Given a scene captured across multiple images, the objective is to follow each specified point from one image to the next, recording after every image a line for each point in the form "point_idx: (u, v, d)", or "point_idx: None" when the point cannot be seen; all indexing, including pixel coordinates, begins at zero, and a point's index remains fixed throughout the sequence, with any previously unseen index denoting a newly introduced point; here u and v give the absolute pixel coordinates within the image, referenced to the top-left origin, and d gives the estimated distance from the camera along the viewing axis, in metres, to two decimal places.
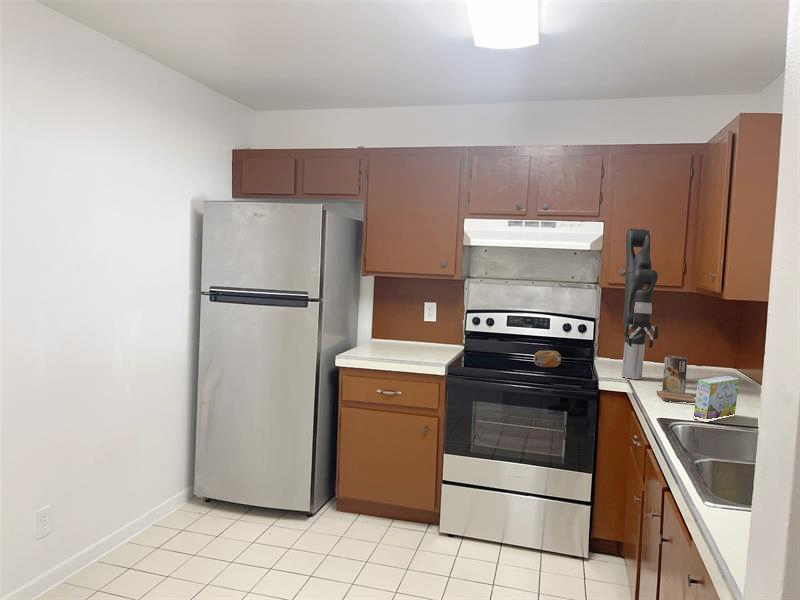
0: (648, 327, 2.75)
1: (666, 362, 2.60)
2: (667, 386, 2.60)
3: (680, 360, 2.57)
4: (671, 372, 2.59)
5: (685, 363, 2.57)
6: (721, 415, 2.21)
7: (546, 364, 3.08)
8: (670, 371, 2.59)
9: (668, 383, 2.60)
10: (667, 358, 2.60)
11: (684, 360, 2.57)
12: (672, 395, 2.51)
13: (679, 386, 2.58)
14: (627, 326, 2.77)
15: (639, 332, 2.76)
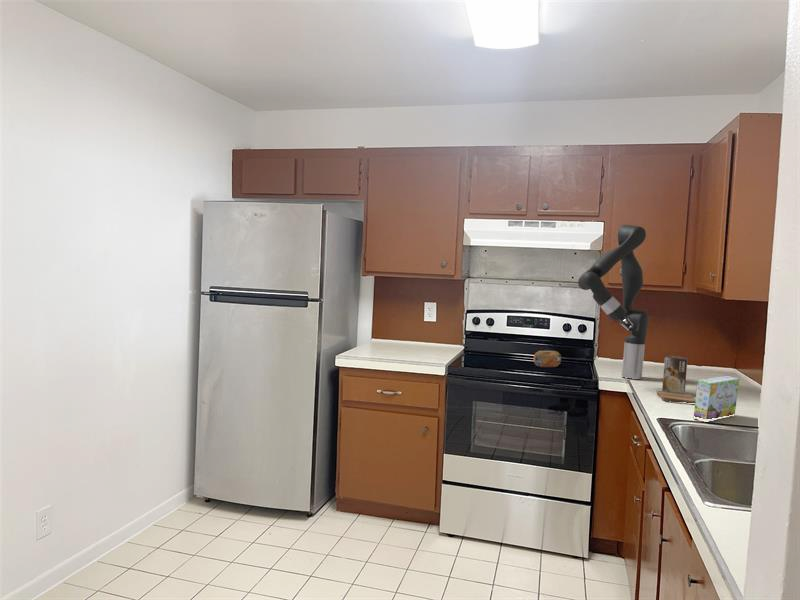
0: (622, 322, 2.64)
1: (666, 362, 2.60)
2: (667, 386, 2.60)
3: (680, 360, 2.57)
4: (671, 372, 2.59)
5: (685, 363, 2.57)
6: (721, 415, 2.21)
7: (546, 364, 3.08)
8: (670, 371, 2.59)
9: (668, 383, 2.60)
10: (667, 358, 2.60)
11: (684, 360, 2.57)
12: (672, 395, 2.51)
13: (679, 386, 2.58)
14: (619, 320, 2.73)
15: None
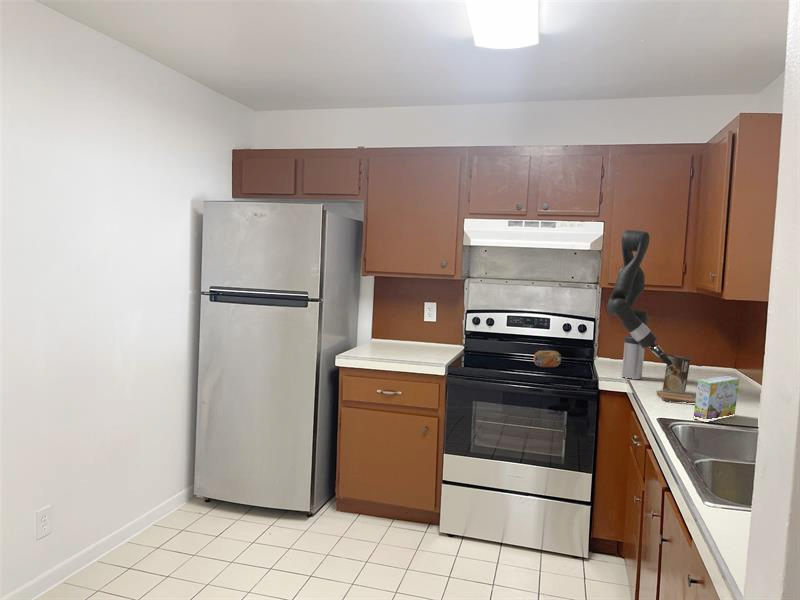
0: (652, 349, 2.60)
1: None
2: (667, 385, 2.60)
3: (683, 360, 2.57)
4: (673, 372, 2.59)
5: (688, 363, 2.56)
6: (721, 415, 2.21)
7: (546, 364, 3.08)
8: (672, 370, 2.59)
9: (669, 382, 2.60)
10: (670, 357, 2.59)
11: (687, 360, 2.56)
12: (672, 395, 2.51)
13: (680, 386, 2.58)
14: (648, 346, 2.69)
15: None
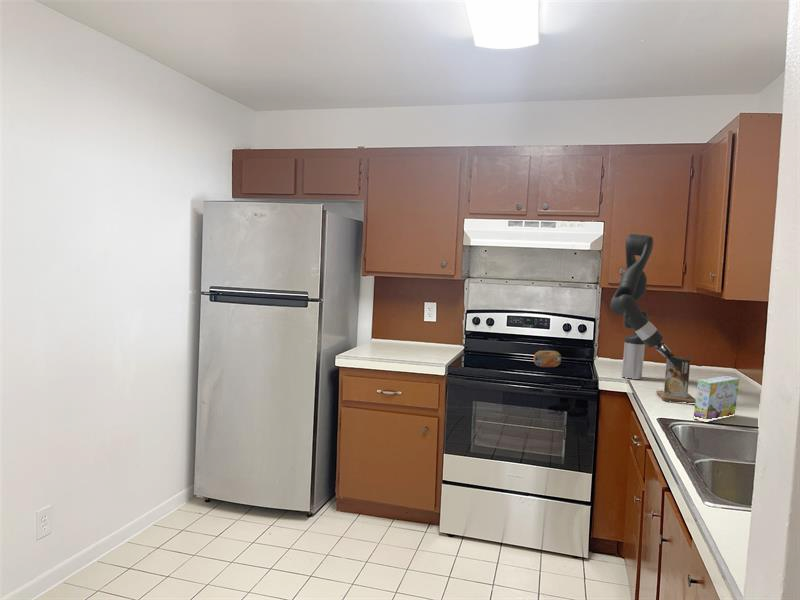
0: (659, 348, 2.48)
1: (668, 363, 2.48)
2: (669, 389, 2.49)
3: (683, 361, 2.46)
4: (673, 374, 2.48)
5: (688, 364, 2.45)
6: (721, 415, 2.21)
7: (546, 364, 3.08)
8: (672, 372, 2.48)
9: (670, 385, 2.48)
10: None
11: (687, 361, 2.45)
12: None
13: (681, 388, 2.47)
14: None
15: None
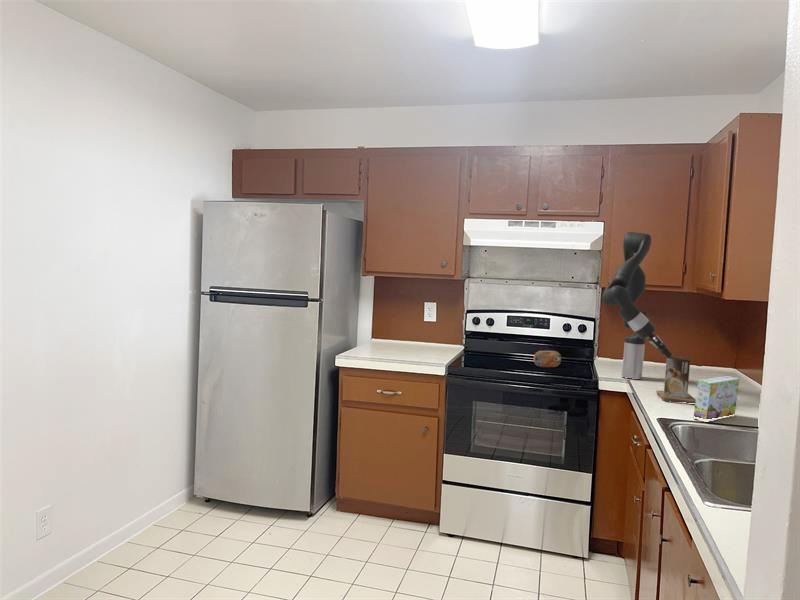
0: (651, 339, 2.48)
1: (668, 363, 2.48)
2: (669, 389, 2.49)
3: (683, 361, 2.46)
4: (673, 374, 2.48)
5: (688, 364, 2.45)
6: (721, 415, 2.21)
7: (546, 364, 3.08)
8: (672, 372, 2.48)
9: (670, 385, 2.48)
10: (669, 359, 2.48)
11: (687, 361, 2.45)
12: None
13: (681, 388, 2.47)
14: None
15: None
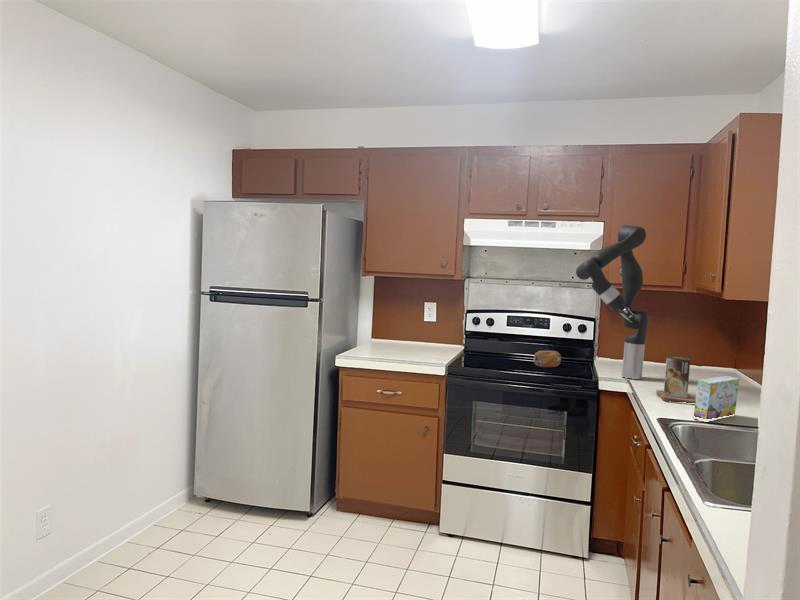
0: (621, 311, 2.59)
1: (668, 363, 2.48)
2: (669, 389, 2.49)
3: (683, 361, 2.46)
4: (673, 374, 2.48)
5: (688, 364, 2.45)
6: (721, 415, 2.21)
7: (546, 364, 3.08)
8: (672, 372, 2.48)
9: (670, 385, 2.48)
10: (669, 359, 2.48)
11: (687, 361, 2.45)
12: None
13: (681, 388, 2.47)
14: None
15: (624, 315, 2.62)
